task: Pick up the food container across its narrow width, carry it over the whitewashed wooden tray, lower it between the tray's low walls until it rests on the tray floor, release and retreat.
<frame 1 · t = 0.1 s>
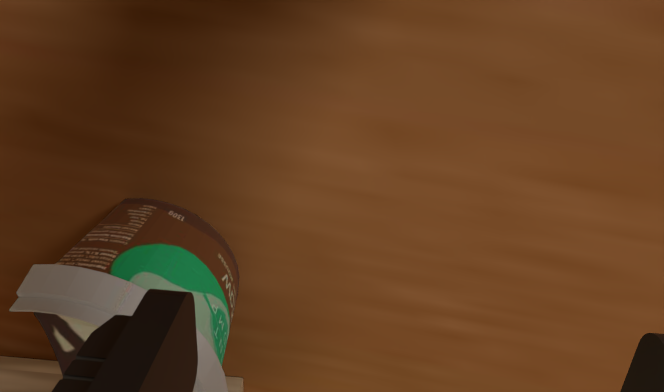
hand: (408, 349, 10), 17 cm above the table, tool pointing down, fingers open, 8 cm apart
food container: (205, 266, 31), on the table
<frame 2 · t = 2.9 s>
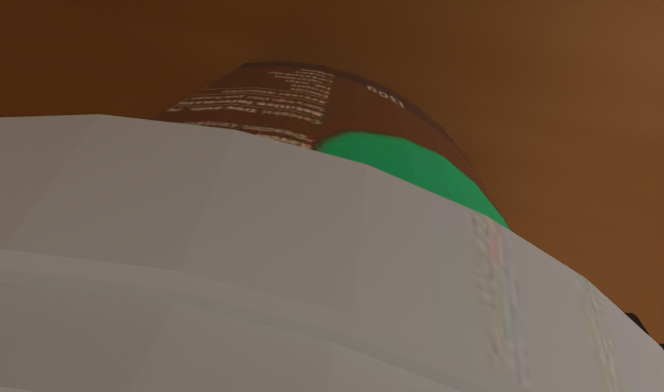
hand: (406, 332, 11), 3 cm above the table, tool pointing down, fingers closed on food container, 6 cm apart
food container: (408, 238, 14), on the table, touching gripper
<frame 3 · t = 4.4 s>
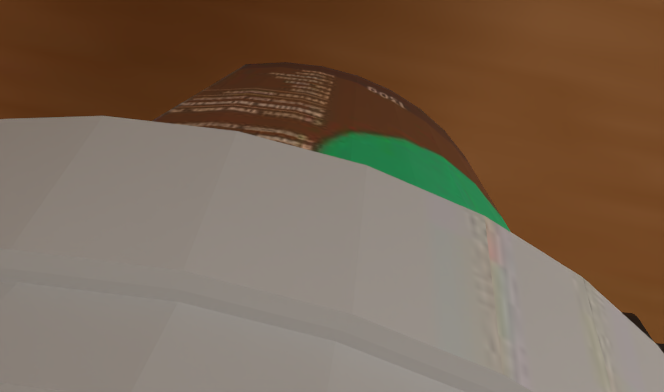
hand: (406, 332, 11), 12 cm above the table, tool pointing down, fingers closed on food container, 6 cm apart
food container: (409, 238, 14), point 8 cm above the table, touching gripper
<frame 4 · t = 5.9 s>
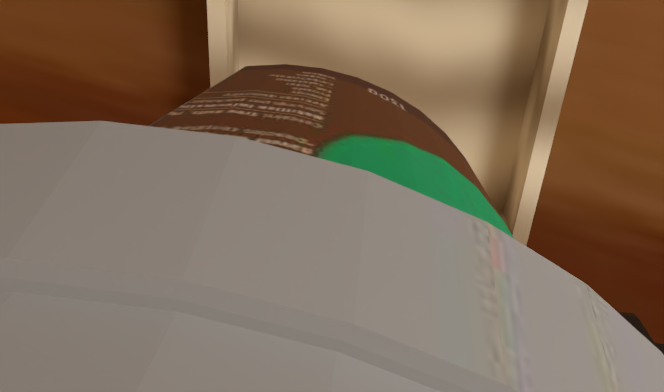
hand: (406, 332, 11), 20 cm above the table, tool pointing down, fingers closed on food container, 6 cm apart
whitewashed wooden tray: (383, 66, 29), on the table
food container: (409, 240, 14), point 17 cm above the table, touching gripper
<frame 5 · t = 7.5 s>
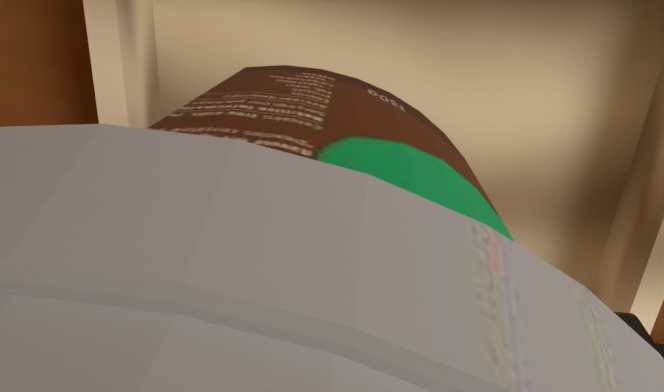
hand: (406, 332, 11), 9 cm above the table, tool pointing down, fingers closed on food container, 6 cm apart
whitewashed wooden tray: (390, 157, 19), on the table
food container: (409, 241, 14), point 6 cm above the table, touching gripper
when the fingers open (5 cm above the table, at t = 8.8 s): food container stays where it is, resting on whitewashed wooden tray.
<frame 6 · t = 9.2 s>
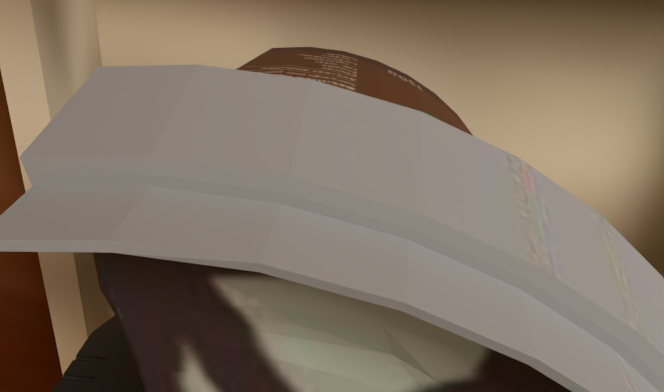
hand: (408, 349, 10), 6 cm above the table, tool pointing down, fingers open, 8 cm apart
whitewashed wooden tray: (396, 207, 15), on the table
food container: (420, 218, 15), point 1 cm above the table, touching whitewashed wooden tray
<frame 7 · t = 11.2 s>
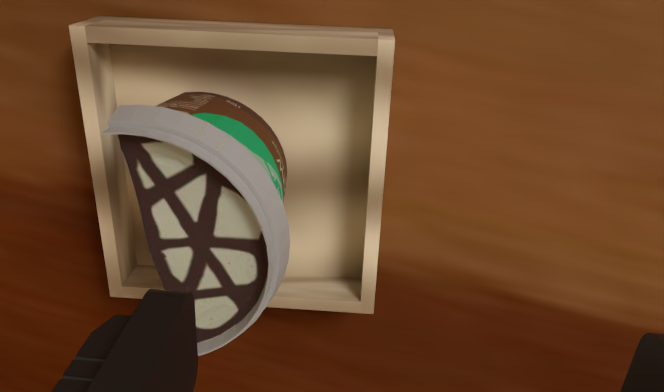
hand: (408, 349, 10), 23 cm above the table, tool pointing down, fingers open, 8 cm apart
whitewashed wooden tray: (248, 160, 34), on the table
food container: (255, 163, 33), point 1 cm above the table, touching whitewashed wooden tray
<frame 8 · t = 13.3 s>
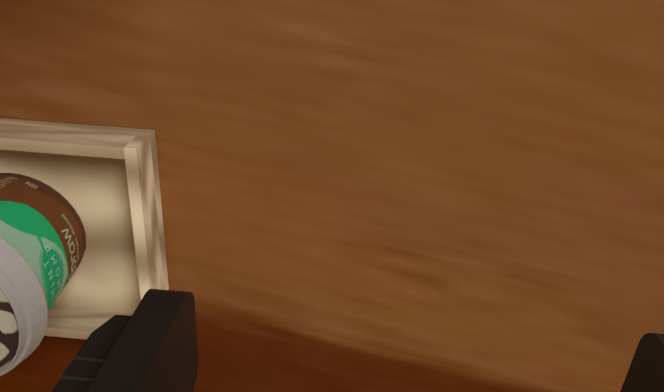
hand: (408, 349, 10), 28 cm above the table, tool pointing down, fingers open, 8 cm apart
whitewashed wooden tray: (58, 222, 43), on the table
food container: (60, 226, 42), point 1 cm above the table, touching whitewashed wooden tray
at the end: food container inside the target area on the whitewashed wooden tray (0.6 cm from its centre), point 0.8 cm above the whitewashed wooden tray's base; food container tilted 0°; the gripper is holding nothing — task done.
